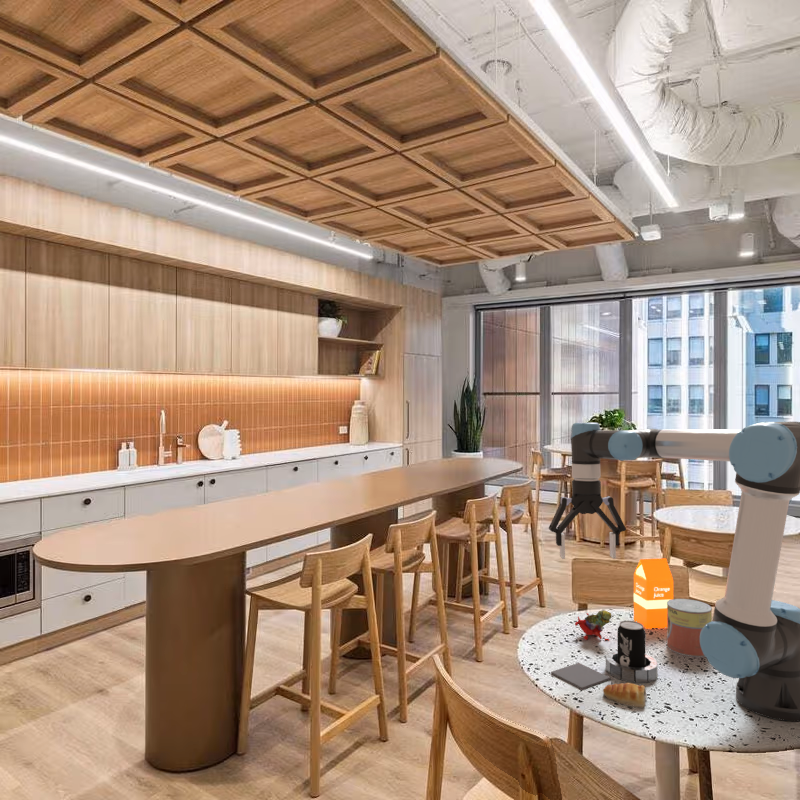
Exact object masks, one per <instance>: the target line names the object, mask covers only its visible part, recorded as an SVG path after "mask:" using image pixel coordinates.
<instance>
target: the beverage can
mask: <svg viewBox="0 0 800 800" xmlns="http://www.w3.org/2000/svg"><path fill="white" fill-rule="evenodd" d="M618 624H619V626H618V627H617V650H618V664H621V665H623V666H627V667H632V668H644V667H645V654H646V631H645V628H644V626H643V625H642V624H641V623H639V622H636V621H634V620H621V621H619V623H618Z"/></svg>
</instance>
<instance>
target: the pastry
mask: <svg viewBox="0 0 800 800" xmlns="http://www.w3.org/2000/svg"><path fill="white" fill-rule="evenodd" d="M602 690H603V691H602V692H603V694H604V696H605V698H607V699H608V700H610V701H614V702H615V703H619V705H620V704H621V705H625V706H630V707H635V708H643V709H644V708H645V707H646V700H647V699H648V698H647V697H648V694H647V691H646V690H647V689H646V686H645V685H643V684H641V685H639V684H637V683H632V682H625V683H622V682H621V683H614V684H608V685H606V686H605V687H604V688H603V689H602Z"/></svg>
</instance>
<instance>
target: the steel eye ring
mask: <svg viewBox="0 0 800 800" xmlns="http://www.w3.org/2000/svg"><path fill="white" fill-rule="evenodd" d="M605 671H606V673H608V674H609V675H610V676H612V677H614V678H615V679H618V680H621V681H624V682H627V683H632V684H638V683H640V684H641V683H642V684H643V683H644V684H645V683H646V684H648V683H651V682H653V681H656V680H657V678H658V661H657V660H656V659H655V658H654V657H652V656H650V655H648V654H646V653H645V667H644V668H632V667H627V666H623V665H621V664H618V649H617V650H613V651H611V652H610V651H609V652H607V654H606V655H605Z"/></svg>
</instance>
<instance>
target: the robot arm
mask: <svg viewBox="0 0 800 800" xmlns="http://www.w3.org/2000/svg"><path fill="white" fill-rule="evenodd" d="M570 431H571V432H570V448H571V449H570V450H571V478H573V479H572V480H571V491H572V492H571V497H565V496H561V497H560V500H559V505H558V508H557V510H556V511H555V513H554V516H553V518H552V521H551V522H550V525H549V526H548V530H550V532H551V533H555V544H556V546H557V547H559V557H560V558H561V559H562V560H566V550H565V549H566V540H565V539H566V538H565V533H564V531H565V530H566V528H568V526H569V525H570V524H571V523H572V521H573V520H574V519H575V518H576V517H577V516H578V515H579V514H581V515H586V514H587V515H588V514H589V515H594V514H595V513H596V514H597V516H599V518H600V519H601V520H602V521H603V522H604V524H606V526H607V527H608V529H610V530H611V531H610V532H609V534H608V535H609V538H608V539H609V557H611V558H612V559H617V555H616V554H617V553H616V551H617V550H616V546H619V544H620V534H621V533H622V532H626V530H627V528H626V525H625V523H624V522H623V520H622V518H621V516H620V514H619V512H618V510H617V509H616V505H615V503H614V499H613V497H612V496H609V495H607V496H605V497H602V487H601V486H602V483H601V481H600V478H601V477H602V476H601V475H602V474H601V459H605V460H606V459H607V460H616V461H617V460H618V461H634V460H636V459H641V458H643V459H644V458H656V459H657V458H658V459H680V460H682V459H683V460H698V461H716V462H729V463H730V465H731V466H732V467H733V470H734V472H735V478H734V479H735V480H734V483H735V484H736V485H737V486H738V488H739V489H740V491H741V495H740V501H739V506H738V512H737V518H736V523H735V532H734V538H733V542H732V548H731V549H732V550H731V556H730V561H729V567H728V571H727V572H728V574H727V580H726V586H725V592H724V596H723V597H722V598H720V599H717V600H716V602H715V604H714V610H713V617H712V621H711V622H709V623H707V624H706V625H705V626H704V627H703V628H702V630H701V632H700V646H701V649H702V652H703V654H704V655H705V657H706V659H707V662H709V663H708V664H710V665H711V666H712V667H713V668H714V669H715V670H716V671H717V672H719V673H721V674H722V675H723V676H725V677H728V678H731V679H738V681H737V683H736V686H735V698H736V700H737V701H738V703H739V704H740V705H741V706H743V707H744V708H746V709H748V710H749V711H751V712H753V713H756V714H758V715H760V716H763V717H766V718H770V719H774V720H779V721H784V720H787V721H786V722H800V608H799V607H798V606H796V605H793V604H790V603H787V602H783V601H779V600H775V599H773V597H774V590H775V584H776V579H777V574H778V568H779V561H780V556H781V552H782V551H781V550H782V545H783V540H784V539H783V538H784V533H785V527H786V522H787V517H788V511H789V505H790V500H792V499H793V498H795V497H797V496H798V495H800V421H761V422H759V423H754V424H750V425H748V426H746V427H744V428H742V429H675V428H674V429H672V428H671V429H670V428H669V429H667V428H666V429H661V428H660V429H659V428H647V429H645V428H644V429H622V430H621V429H620V430H611V429H610V430H604V429H603V430H601V427H600V424H599V422H574V423H573V424H572V425H571V430H570ZM570 503H571V504H572V508H571V509H570V511H569V513H568V514H566V516H565V517H564V518H563V519H562V517H563V515H564V513H565V511H566V508H567V507H568V506H569V505H570ZM602 504H604V505H605V506H607V509H608V511H609V512H610V514H611V516H612V518H613V520H614V522H615V524H616V525H615V524H614V523H613V522H612V521H611V519H610V518H609V517H608V516H607V514H605V512H604V511H603V510H602V509H601V508H600V507H601V506H602ZM561 519H562V520H561ZM560 521H561V522H560Z"/></svg>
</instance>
